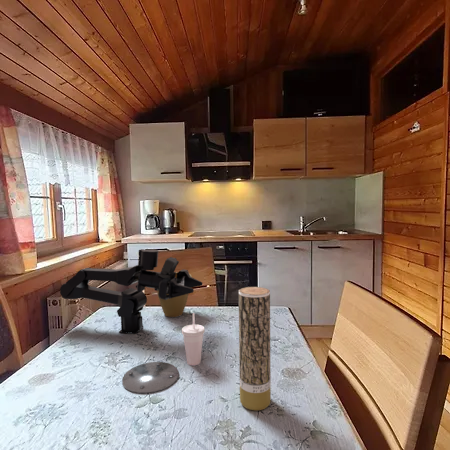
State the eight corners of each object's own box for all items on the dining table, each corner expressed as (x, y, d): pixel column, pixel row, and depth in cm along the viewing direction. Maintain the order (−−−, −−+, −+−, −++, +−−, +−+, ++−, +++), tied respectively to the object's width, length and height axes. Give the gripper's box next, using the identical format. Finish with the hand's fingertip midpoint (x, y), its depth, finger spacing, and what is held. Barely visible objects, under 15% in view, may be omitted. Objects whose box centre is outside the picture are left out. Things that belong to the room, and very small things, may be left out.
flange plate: (111, 391, 74) (111, 388, 74) (136, 362, 87) (136, 359, 87) (168, 395, 72) (168, 392, 72) (185, 365, 85) (184, 362, 85)
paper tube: (273, 396, 71) (272, 288, 69) (267, 415, 64) (266, 296, 63) (244, 391, 73) (243, 286, 72) (236, 408, 66) (234, 293, 65)
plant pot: (148, 318, 122) (147, 278, 122) (166, 307, 137) (165, 271, 136) (182, 322, 118) (181, 280, 117) (197, 310, 132) (197, 273, 131)
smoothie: (187, 370, 83) (186, 318, 82) (179, 360, 88) (178, 311, 88) (208, 364, 86) (208, 314, 85) (199, 354, 91) (199, 308, 91)
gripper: (144, 261, 98) (190, 268, 94) (168, 253, 116) (208, 259, 112) (141, 296, 99) (187, 304, 95) (166, 282, 117) (205, 289, 113)
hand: (198, 287), depth 104 cm, fingers open, 9 cm apart
